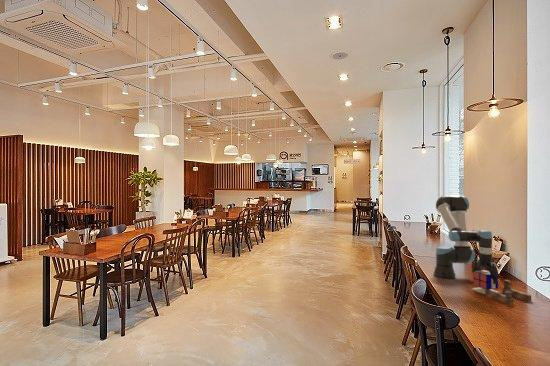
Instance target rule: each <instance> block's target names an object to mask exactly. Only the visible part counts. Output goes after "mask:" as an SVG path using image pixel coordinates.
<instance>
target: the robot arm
mask: <svg viewBox="0 0 550 366" xmlns="http://www.w3.org/2000/svg"><path fill="white" fill-rule="evenodd" d="M469 208H470V201H469V199H468V198H467V196H465V195H459V194H458V195H451V194H450V195H442V196H440V197H438V199H437V200H436V203H435V209H436V211H437V212H438V213H440V215H441V217H442V219H443V221H444V223H445V226H446V227H447V229H448V230H449V231H448V239H449V240H450V242H455V243H454V245H453V246H451V245H440V246H438V247H436V249H435V260H436V261H435V267H434V270H433V276H435V277H438V278H440V279H449V280H450V279H452V280H453V279H455V278H456V273H455V270H454V266H453V264H473V263H474V264H473V269H472V273H474V271H480V270H483V268H484V267H485V268H486V269H487V271H489V272H490V274H491V276H492V279H491V288H492V290H495V289H494V288H496V287H495V284H496V279H498V280H499V279H500V277H501V276H500V274H499V270H498V263H497V262H493V261H492V260H493V234H492V231H491V230H488V229H487V230H486V229H479V230H475V229H474V230H467V223H466V222H467V221H466V213H467V212H468V210H469ZM470 242H471V243H474V242H475V243H478V258H476V253H475V250H474V249H473V248H471V245H470V244H469V243H470Z"/></svg>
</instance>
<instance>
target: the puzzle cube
mask: <svg viewBox="0 0 550 366" xmlns="http://www.w3.org/2000/svg"><path fill="white" fill-rule="evenodd" d="M491 279H492V276H491V274H490V272H489V270H486V269H481V270H480V271H474V272H473V286H475V287H476V288H479V287H480V288H483V289H486V290H487V289H489V290H490V289H492V288H491ZM495 287H496V288H494V289H492V290H498V289H499V279H496V284H495Z"/></svg>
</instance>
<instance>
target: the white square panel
mask: <svg viewBox="0 0 550 366" xmlns="http://www.w3.org/2000/svg"><path fill="white" fill-rule="evenodd" d="M471 290H472V291H475V292H477V293H480V294H483V295H485V290H486V289H483V288H480V287H473V288H471ZM490 290H491V291H494V292H497V293H500V294H501V292H500V291H497V290H496V289H490Z"/></svg>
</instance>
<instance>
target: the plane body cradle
mask: <svg viewBox="0 0 550 366" xmlns="http://www.w3.org/2000/svg"><path fill="white" fill-rule="evenodd" d="M484 296H485V297H487V298H490V299H493V300H495V301H498V302H501V303H504V304H507V305H509V306H513V305H514V298H516V299H519V300H522V301H524V302H528V303H530V302H532V295H531V294H529V293H526V292H522V291H520V290H516V289H514V288H512V281H511V280H509V279H504V280H503V287H502V293H501V292H500V293H497V292H494V291H491V290H489V289H487V290H485V294H484Z"/></svg>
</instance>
